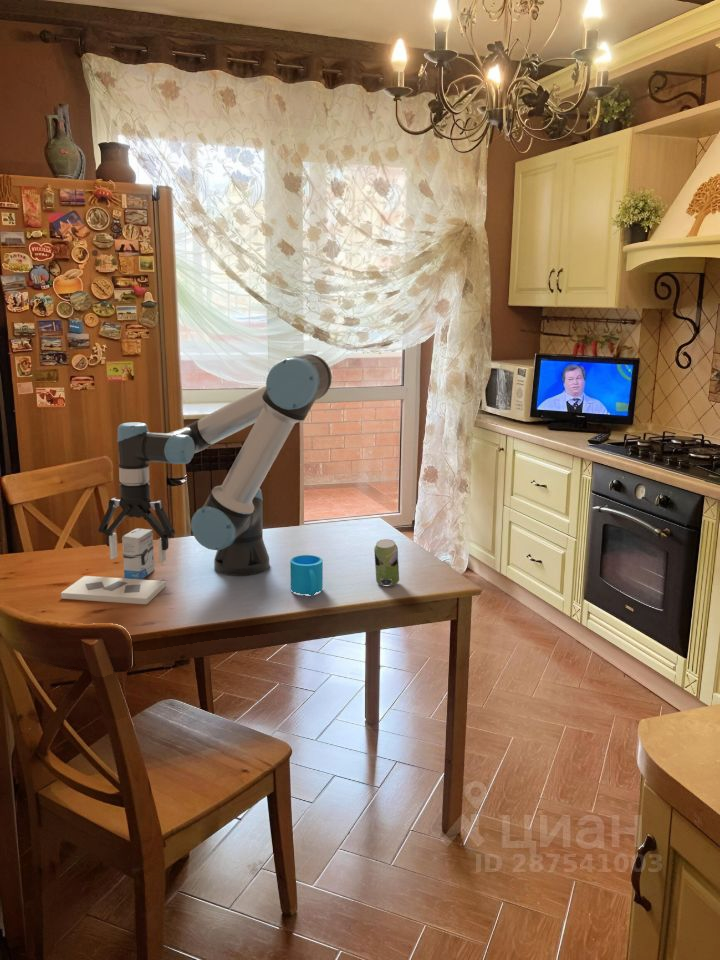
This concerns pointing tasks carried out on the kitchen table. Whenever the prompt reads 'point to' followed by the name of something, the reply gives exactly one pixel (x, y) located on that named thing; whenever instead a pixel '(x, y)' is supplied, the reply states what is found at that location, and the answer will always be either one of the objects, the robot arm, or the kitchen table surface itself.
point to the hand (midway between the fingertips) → (137, 559)
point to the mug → (306, 574)
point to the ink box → (138, 553)
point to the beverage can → (386, 562)
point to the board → (114, 590)
